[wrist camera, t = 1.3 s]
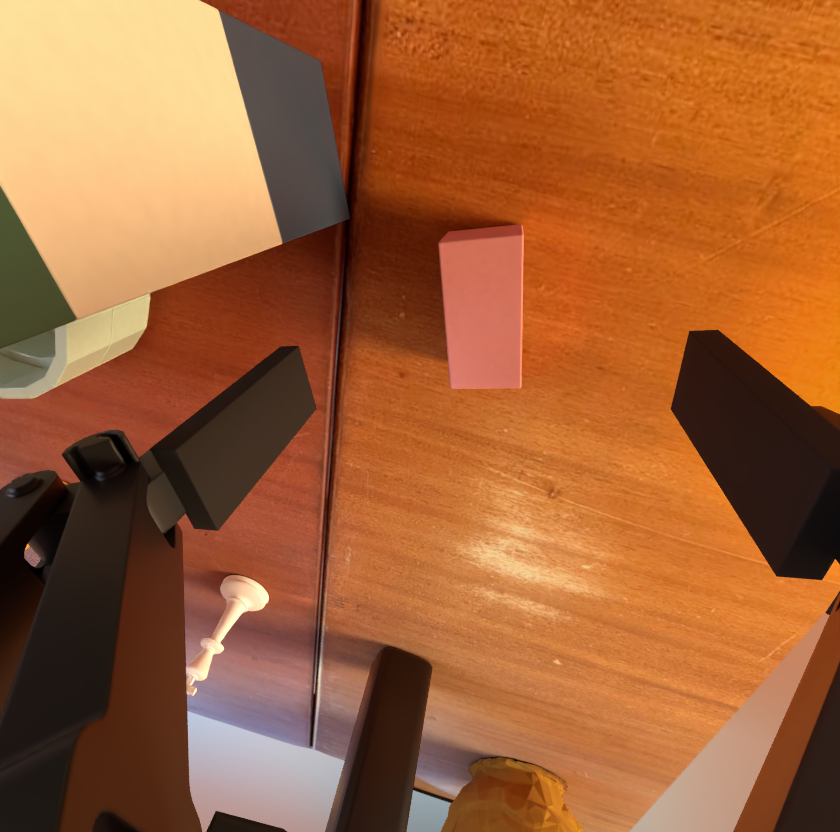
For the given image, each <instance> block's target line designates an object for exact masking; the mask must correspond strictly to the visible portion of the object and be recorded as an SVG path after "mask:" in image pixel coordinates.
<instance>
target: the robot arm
mask: <svg viewBox="0 0 840 832" xmlns="http://www.w3.org/2000/svg"><path fill="white" fill-rule="evenodd" d="M316 409H317V408H316V405H315V401H314V398H313V394H312V391H311V387H310V384H309V380H308V377H307V373H306V370H305V366H304V363H303V359H302V356H301V352H300V349H299V346H283V347H279V348H278V349H277V350H276V351H274V352H273V353H272V354H270V355H269V356H268V357H267V358H265V359H264V360H263V361H262V362H260V363H259V364H258V365H256V366H255V367H254V368H253V369H251V370H250V371H249V372H247V373H246V374H245V375H244V376H242V377H241V378H240V379H239V380H237V381H236V382H235V383H233V384H232V385H231V386H230V387H228V388H227V389H226V390H224V391H223V392H222V393H221V394H219V395H218V396H217V397H216V398H214V399H213V400H212V401H210V402H209V403H208V404H207V405H205V406H204V407H203V408H201V409H200V410H199V411H198V412H196V413H195V414H194V415H193V416H191V417H190V418H189V419H187V420H186V421H185V422H184V423H182V424H181V425H180V426H178V427H177V428H176V429H175V430H173V431H172V432H171V433H170V434H168V435H167V436H166V437H164V438H163V439H162V440H161V441H159V442H158V443H157V444H155V445H154V446H153V447H152V448H150V450H148V451H147V452H146V453H145V454H143V455H142V456H141V457H138V456H137V454H136V452H135V451H134V449H133V447H132V446H131V444H130V442H129V440H128V439H127V437H126V435H125V434H124V432H123V431H120V430H108V431H104V432H100V433H96V434H94V435H91V436H88V437H86V438H84V439H82V440H80V441H78V442H76V443H74V444H73V445H71V446H70V447H68V448H67V449H66V450H65V451H64V452H63V454H62V456H63V457H64V459H65V460H66V462H67V463H68V464H69V466H70V467H71V469H72V470H73V471H74V473H75V474H76V476H77V477H78V478H79V480H80V482H78V483H72V484H67V485H65V484H64V483H63V481H62V480H61V479H60V477H59V476H58V475H57V473H56V472H55V471H50V470H47V471H39V472H36V473H33V474H26V475H24V476H22V477H19V478H17V479H15V480H13V481H12V482H11V483H10V484H8V485H6V486H5V487H3V488H2V489H1V490H0V832H202V829H201V824H200V820H199V817H198V815H197V812H196V809H195V807H194V804H193V802H192V798H191V793H190V786H189V765H188V764H189V761H188V725H187V688H186V652H185V616H184V579H183V543H182V531H181V529H180V527H179V525H178V523H177V522H178V521H179V519H180V518H181V517H182V516H183V515H184V514H185V513H186V514H187V516H188V518H189V520H190V521H191V523H192V525H193V527H194V529H204V530H216V531H218V530H219V529H220V528H221V526H222V525H223V524H224V523H225V521H226V520H227V519H228V518H229V516H230V515H231V514H232V513H233V512H234V510H235V509H236V508H237V507H238V505H239V504H240V503H241V502H242V500H243V499H244V498H245V497H246V495H247V494H248V493H249V492H250V490H251V489H252V488H253V487H254V486H255V484H256V483H257V482H258V481H259V479H260V478H261V477H262V476H263V474H264V473H265V472H266V471H267V469H268V468H269V467H270V466H271V464H272V463H273V462H274V461H275V460H276V458H277V457H278V456H279V455H280V453H281V452H282V451H283V450H284V448H285V447H286V446H287V445H288V443H289V442H290V441H291V440H292V439H293V437H294V436H295V435H296V434H297V432H298V431H299V430H300V429H301V427H302V426H303V425H304V424H305V422H306V421H307V420H308V419H309V417H310V416H311V415H312V414H313V413H314V411H315V410H316ZM671 410H672V412H673V413H674V415H675V417H676V418H677V420H678V421H679V423H680V424H681V426H682V428H683V429H684V431H685V432H686V434H687V435H688V437H689V439H690V440H691V442H692V443H693V445H694V447H695V448H696V450H697V451H698V453H699V454H700V456H701V458H702V459H703V461H704V462H705V464H706V466H707V467H708V469H709V470H710V472H711V473H712V475H713V477H714V478H715V480H716V481H717V483H718V485H719V486H720V488H721V489H722V491H723V492H724V494H725V496H726V497H727V499H728V500H729V502H730V503H731V505H732V507H733V508H734V510H735V511H736V513H737V515H738V516H739V518H740V519H741V521H742V522H743V524H744V526H745V527H746V529H747V530H748V532H749V534H750V535H751V537H752V538H753V540H754V541H755V543H756V545H757V546H758V548H759V549H760V551H761V553H762V554H763V556H764V557H765V559H766V560H767V562H768V564H769V565H770V567H771V568H772V570H773V571H774V573H775V575H776V576H779V577H791V578H803V579H816V580H822V579H823V578H824V576H825V575H826V573H827V571H828V570H829V568H830V566H831V565H832V563H833V562H834V560H835V559H836V560H837V561H838V562H839V564H840V414H837V413H835V412H833V411H831V410H829V409H826V408H824V407H822V406H810V405H809V404H808V403H806V402H805V401H804V400H803V399H801V398H800V397H799V396H798V395H797V394H795V393H794V392H793V391H792V390H790V389H789V388H788V387H787V386H786V385H784V384H783V383H782V382H781V381H780V380H778V379H777V378H776V377H775V376H773V375H772V374H771V373H770V372H769V371H767V370H766V369H765V368H764V367H763V366H761V365H760V364H759V363H758V362H756V361H755V360H754V359H753V358H752V357H750V356H749V355H748V354H747V353H746V352H744V351H743V350H742V349H741V348H739V347H738V346H737V345H736V344H735V343H733V342H732V341H731V340H730V339H729V338H727V337H726V336H725V335H724V334H722V333H721V332H720V331H719V330H704V331H689V335H688V339H687V343H686V347H685V352H684V356H683V360H682V364H681V368H680V373H679V377H678V381H677V385H676V390H675V394H674V398H673V402H672V406H671ZM27 544H28V545H29V546H30V547H31V548H32V549H33V550H34V552H35V553H36V554H37V555H38V556H39V557H40V558H41V560H40V562H39V563H38V565H37V566H36V567H33V566H31V565H30V564H29V563H28V562H27V561H26V560H25V559H24V551H25V548H26V546H27ZM826 613H827V614H829V615H830V616H829V618H828V620H827V623H826V625H825V627H824V629H823V632H822V634H821V636H820V639H819V641H818V643H817V645H816V647H815V649H814V652H813V654H812V656H811V658H810V661H809V663H808V665H807V668H806V670H805V672H804V674H803V676H802V679H801V681H800V683H799V685H798V688H797V690H796V692H795V694H794V697H793V699H792V701H791V703H790V706H789V708H788V710H787V712H786V715H785V717H784V719H783V722H782V724H781V726H780V728H779V730H778V733H777V735H776V737H775V739H774V742H773V744H772V746H771V748H770V750H769V753H768V755H767V757H766V760H765V762H764V764H763V766H762V768H761V771H760V773H759V775H758V777H757V780H756V782H755V784H754V787H753V789H752V791H751V793H750V796H749V798H748V800H747V802H746V804H745V807H744V809H743V811H742V814H741V816H740V818H739V820H738V823H737V825H736V827H735V829H734V831H733V832H840V592H839V593H838V595H837V596H836V598H835V599H834V601H833V602H832V604H831V605H830V607H829V608H828V610H827V611H826ZM207 832H287V831H285V830H284V829H282V828H278V827H274V826H270V825H267V824H263V823H259V822H256V821H252V820H248V819H244V818H241V817H237V816H233V815H229V814H225V813H222V812H218V811H216V812H215V814H214V816H213V819H212V821H211V823H210V825H209V827H208V829H207Z"/></svg>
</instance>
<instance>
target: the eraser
mask: <svg viewBox="0 0 840 832" xmlns="http://www.w3.org/2000/svg"><path fill="white" fill-rule="evenodd" d="M523 247H524V235H523V226H522V225H521V224H518V225H508V226H498V227H488V228H478V229H468V230H458V231H449V232H447V233H446V235H445V236H444V237H443V238H442V239H441V240H440V241H439V242H438V250H439V261H440V273H441V284H442V295H443V307H444V318H445V330H446V341H447V353H448V364H449V376H450V387H451V389H476V388H521V371H522V309H523Z"/></svg>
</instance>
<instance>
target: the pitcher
mask: <svg viewBox="0 0 840 832" xmlns="http://www.w3.org/2000/svg"><path fill="white" fill-rule="evenodd" d="M469 772H470V774H472V776H473V779H472V781H471V782H470V783H468V784H467V785H466V786H464V787H463V788H462V790H461V791H460V793H459V794H458V796H457V797H456V799H455V800H454V801H453V802H452V804H451V805H450V807H449V812H448V817H447V819H446V821H445V824H444V826H443V828H442V830H441V832H581V831H582V830H583V828H582V827H581V825H580V824H579V823H578V822H577V821H576V820H575V818H574V817H573V815H572V814H571V812H570V811H569V809H568V808H567V806H566V805H565V803H564V801H563V798H562V795H563V793H565V791H567V788H568V787H567V783H566V782H565V781H564V780H562V779H561V780H560V778H558V777H557V776H556V775H554V774H552V773H550V772H549V771H548V772H547V770H543V768H541V767H539V766H536V765H532V764H528V763H527V764H525V763H522V762H519V761H514V760H513V759H511V758H510V759H507V758H504V757H498V758H496V759H494V758H493V759H491V758H488V759H486V760H485V759H483V760H482V759H480V760H479V761H476V762H474V763H473V764H472V765H470V766H469Z"/></svg>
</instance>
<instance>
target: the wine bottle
mask: <svg viewBox="0 0 840 832" xmlns="http://www.w3.org/2000/svg"><path fill="white" fill-rule="evenodd" d="M431 673H432V666H431V665H430V663H429V662H427V661H425V660H423V659H420V658H418V657H415V656H413V655H410V654H408V653H405V652H403V651H400V650H397V649H395V648H392V647H385V648H383V649H382V650H381V651H380V653H379V654H378V656H377V657H376V659H375V661H374V662H373V664H372V666H371V670H370V673H369V677H368V680H367V684H366V687H365V691H364V695H363V698H362V702H361V705H360V709H359V712H358V716H357V720H356V723H355V727H354V730H353V734H352V738H351V741H350V745H349V748H348V752H347V755H346V759H345V763H344V766H343V770H342V773H341V777H340V781H339V784H338V788H337V791H336V795H335V798H334V802H333V806H332V809H331V813H330V817H329V820H328V823H327V827H326V831H325V832H406V830H407V824H408V818H409V811H410V805H411V799H412V792H413V786H414V780H415V774H416V767H417V761H418V755H419V748H420V742H421V736H422V730H423V723H424V717H425V711H426V704H427V698H428V692H429V686H430V679H431Z"/></svg>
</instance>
